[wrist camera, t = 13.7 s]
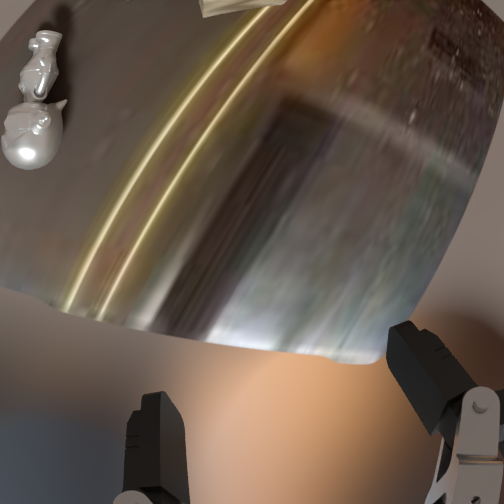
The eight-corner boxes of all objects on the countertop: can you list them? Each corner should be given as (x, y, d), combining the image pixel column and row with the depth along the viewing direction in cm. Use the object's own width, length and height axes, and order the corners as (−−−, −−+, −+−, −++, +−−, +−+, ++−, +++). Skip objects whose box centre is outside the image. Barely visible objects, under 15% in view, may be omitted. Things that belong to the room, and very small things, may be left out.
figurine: (36, 18, 18) (7, 173, 22) (99, 31, 24) (75, 171, 28) (11, 47, 24) (-9, 169, 27) (61, 53, 30) (43, 167, 34)
